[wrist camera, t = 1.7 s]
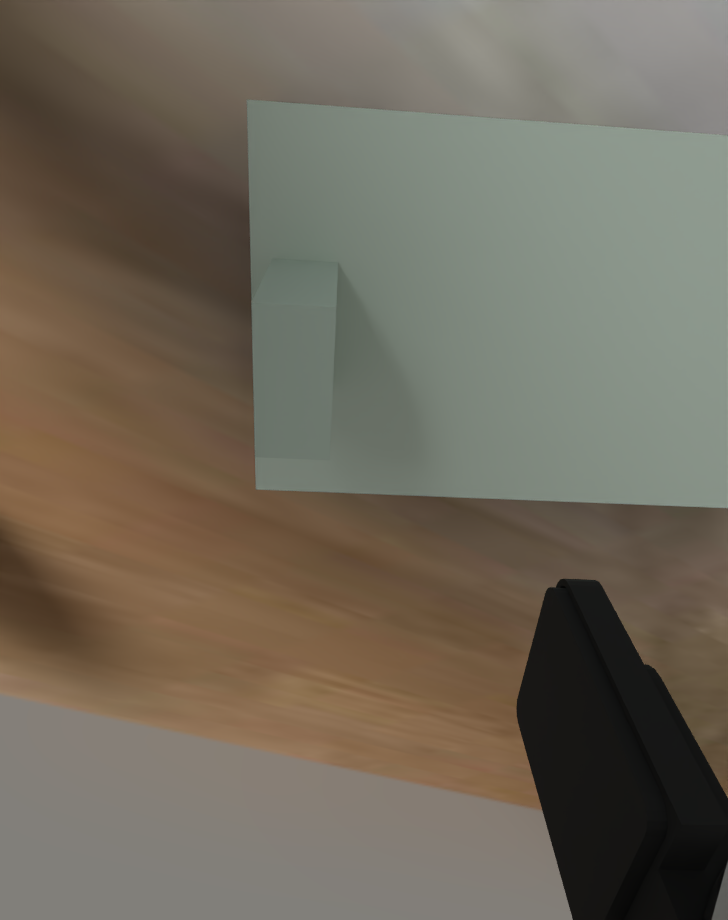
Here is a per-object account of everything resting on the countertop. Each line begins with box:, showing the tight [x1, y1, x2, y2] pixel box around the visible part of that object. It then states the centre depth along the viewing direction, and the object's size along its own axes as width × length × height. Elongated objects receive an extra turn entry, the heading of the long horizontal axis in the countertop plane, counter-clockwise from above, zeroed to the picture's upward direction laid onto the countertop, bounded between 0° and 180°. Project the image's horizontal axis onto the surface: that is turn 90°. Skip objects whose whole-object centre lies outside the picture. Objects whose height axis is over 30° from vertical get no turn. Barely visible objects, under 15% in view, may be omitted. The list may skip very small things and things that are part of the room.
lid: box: [247, 100, 728, 508], centre depth 23 cm, size 15×22×8 cm
